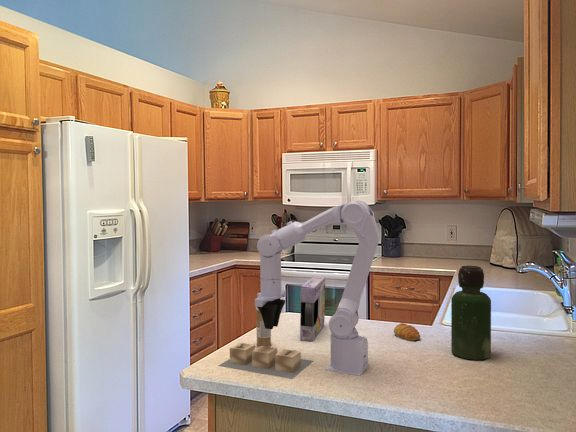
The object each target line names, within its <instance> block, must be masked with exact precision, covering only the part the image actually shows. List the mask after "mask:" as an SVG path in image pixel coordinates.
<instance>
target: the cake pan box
mask: <svg viewBox="0 0 576 432" xmlns="http://www.w3.org/2000/svg"><path fill="white" fill-rule="evenodd" d="M325 301H326V277H325V276H312V277H311V278H310V279H308V280H307V281H306V282H305V283H303V284H302V285H301V286H300V318H299V319H300V320H299V321H300V324H299V328H300V329H299V332H300V333H299V335H300V336H299V339H300V341H303V342H304V341H306V342H314V341H315V339H316V338H317V336H318V335H319V333H320V332H321V331H322V330H323V328H324V327H325V315H326V314H325V310H326V309H325V307H326V304H325V303H326V302H325Z"/></svg>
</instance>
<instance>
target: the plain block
mask: <svg viewBox="0 0 576 432" xmlns="http://www.w3.org/2000/svg"><path fill="white" fill-rule="evenodd" d="M277 353H278V347H272V346H271V347H266V346H260V347H257V348H255V350H253V351H252V366H255V367H260V368H266V369H269V368H271V367H272V366H274V365H275V355H276V354H277Z"/></svg>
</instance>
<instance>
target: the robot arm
mask: <svg viewBox="0 0 576 432" xmlns="http://www.w3.org/2000/svg"><path fill="white" fill-rule="evenodd" d="M333 223H336V224H342V223H343V224H344V223H345V224H346V225H347V226H348V227H349V228H350V229H351V230H352V231H353V232H354V234H355V236H356V237H357V238H358V240H359V241H358V245H357V248H356V252H355V255H354V257H353V259H352V260H353V261H352V264H351V267H350V270H349V273H348V277H347V281H346V283H345V286H344V290H343V292H342V296H341V299H340V301H339V304H338V306H337V309H336V311H335V313H334V314H333V315H332V316H331V317H330V319H329V321H328V327H329V328H328V329H329V331H330V333H329V334H330V364H329V365H327V366H326V367H325V369H324V370H326V371H330V372H335V373H342V374H348V375H354V376H362V374H364V372H365V371H366V369H368V368H369V342H368V339H367V337H365V336H362V335H360V334H359V331H358V330H357V328H356V326H357V324H358V322H359V319H360V318H359V309H360V302H361V299H362V295H363V292H364V289H365V287H366V283H367V279H368V277H369V274H370V270H371V268H372V265H373V260H374V258H375V256H376V251H377V248H378V245H379V242H380V238H381V237H380V236H381V235H380V233H379V227H378V225H377V222H376V218H375V212H374V211H373V210H372V208H371V207H370V206H369V204H367V202H365V201H362V200H353V201H352V200H351V201H348V202H346V203H345V204H339V205H337V206H334V207H331V208H329V209H326V210H325V211H323V212H320V213H319V214H317V215H316V216H313V217H312V218H310V219H308V220H306V221H304V222H302V223H301V222H298V221H292V220H291V221H289V222H288V221H287V222H286V225H285V226H283V227H280V228H278V229H273V230H271V233H270V234H263V235H262V236H261V237H260V238H259V239H258V241H257V243H256V244H257V245H256V249H257V252H258V253H259V254H260V255H259V257H260V259H259V264H260V267H259V268H260V269H259V270H260V271H259V272H260V277H259V278H260V292H258V293H257V294H256V296H257V297H256V298H254V307H256V306H257V307H258V309H259V311H260V313H261V315H262V318H263V322H264V326H265V329H271V330H273V329H274V327H276V328H277V327H279V322H280V317H281V313H282V311H283V308H284V306H285V304H286V299H283V298H286V297H287V289H282V259H281V258H282V252H283V251H285V250H288V249H289V248H292V247H294V246H296V245H298V244H300V243H303V242H305V240H306V238H307V236H308V234H310V233H313V232H315V231H316V230H319V229H321V228H324V227H326V226H327V225H331V224H333ZM281 298H282V299H281Z"/></svg>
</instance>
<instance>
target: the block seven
mask: <svg viewBox="0 0 576 432" xmlns="http://www.w3.org/2000/svg"><path fill="white" fill-rule="evenodd" d="M255 349H256V345H255V344H250V343H244V342H238V343H236V344H234V345H232V346H230V347H229V359H230V362H231V363H237V364H243V365H246V364H248V363H250V362H251V361H252V351H253V350H255Z"/></svg>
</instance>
